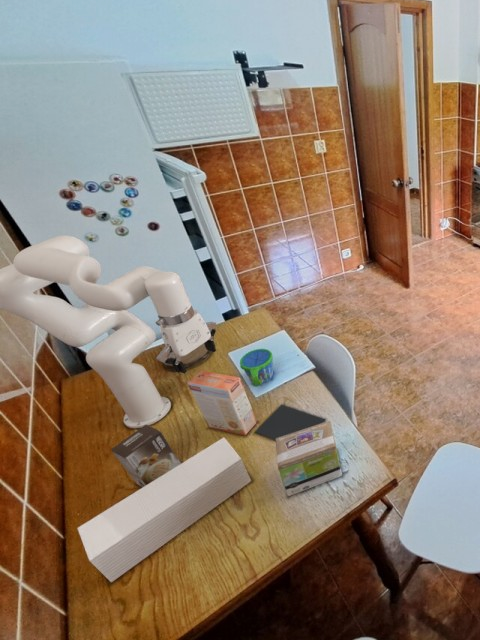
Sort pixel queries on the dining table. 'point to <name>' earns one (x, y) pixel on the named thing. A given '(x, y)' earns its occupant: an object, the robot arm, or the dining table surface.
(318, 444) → the tea box
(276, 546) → the dining table surface
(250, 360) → the snack cup
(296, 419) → the placemat
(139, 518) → the white long rectangular block
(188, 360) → the round cork coaster
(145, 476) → the coffee box
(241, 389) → the cracker box
